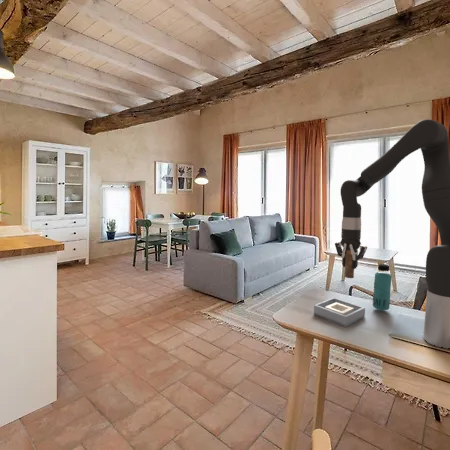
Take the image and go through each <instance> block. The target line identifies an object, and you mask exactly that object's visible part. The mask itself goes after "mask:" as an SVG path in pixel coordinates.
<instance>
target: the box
mask: <svg viewBox="0 0 450 450" xmlns="http://www.w3.org/2000/svg"><path fill="white" fill-rule="evenodd" d="M313 315H314V316H317V317H319V318H321V319H324V320H327V321H329V322H332V323H334V324H337V325H339V326H341V327H344V328H347V327H348V326H350V325H352V324H355V323H357V322H358V321H360V320H362V319H364V318H365V316H366V307H365V306H361V305H358V304H356V303H352V302H349V301H346V300H343V299H341V298H340V299H339V298H337V297H331V298H328V299H326V300H324V301H321V302H319V303H316V304H314V305H313Z"/></svg>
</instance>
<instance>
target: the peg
mask: <svg viewBox="0 0 450 450" xmlns="http://www.w3.org/2000/svg"><path fill="white" fill-rule="evenodd" d="M352 260H353V257H352V255H351V250H346V256H345V267H344V278H346V279H354V277H355V269H352Z"/></svg>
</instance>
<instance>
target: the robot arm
mask: <svg viewBox="0 0 450 450" xmlns="http://www.w3.org/2000/svg"><path fill="white" fill-rule="evenodd" d="M447 129H448V128H447V127H446V126H445V125H444V124H442V123H441V122H439V121H436V120H434V119H429V118H427V119H426V118H425V119H422V120H419V121H418V122H417V123H415V124H414V125H413V126H411V128H409V130H408V131H406V132H405V134H404V135H403V136H402V137H401V138H400V139H399V140H398V141H397V142H395V144H394V145H393V146H392V147H390V148H389V149H388V150H387V151H386V152H384V154H383V155H381V156H380V157H379V158H378V159H376V160H375V161H374V162H372V163H371V164H370V165H368V166H367V167H366V168H364V169H363V170H362V171H361V173H360V176H359V177H358V178H357V179H347V180H345V181H343V183H342V184H341V186H340V198H341V202H342V218H341V219H342V221H341V234H340V235H341V237H340V238H341V240H340V241H338V242H335V243H334V246H335V250H336V253H337V256H338V257H341V264H342V267H344V268H345V256H346V250H351V255H352V257H353V260H352V269H354V270H355V269H357V268H358V266H359V265H358V263H359V260H362V259H363V258H364V256H365V253H366V251H367V249H368V246H367V245H365V246H364V245H362V242H361V239H362V238H361V237H362V205H361V204H360V203H359V202H358V198H359V197H361V196H363V195H364V194H366V193H367V192H368V191H369V190H370V189H371V188H372V187H373V186H374V185H375V184H377V183H379V182H380V181H382V180H383V179H385V178H386V177H387V176H389V174H391V172H393V171H394V170H395V168H396V167H397V166H398V165H399V164H400V163H401V162H402V161H403V160H404V159H405V158H406V157H408V156H409V155H410V154H412V153H414V152H416V151H419V150H420V151H421V154H422V158H423V163H424V171H423V177H422V182H421V195H422V201H423V206H424V209H425V211H426V212H427V214H428V216H429V218H430V219H431V220H432V222H433V223H434V225H435V227H436V228H437V232H438V234H439V238H440V245H435V246H433V247H431V248H430V249H429V250H428V251H427V255H426V259H425V260H426V261H425V282H426V285H427V290H426V301H425V313H424V321H423V322H424V324H423V335H422V336H423V337H422V338H423V340H424V339H425V340H426V341H427V342H426V341H425V340H424V341H425V342H426V343H427V344H430V345H432V346H434V345H435V347H438V348H441V347H443V349H448V348H450V154H449V153H450V151H449V150H450V149H449V134H448V133H449V132H448V130H447ZM358 249H359V250H358Z"/></svg>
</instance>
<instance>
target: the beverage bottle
mask: <svg viewBox="0 0 450 450" xmlns="http://www.w3.org/2000/svg"><path fill="white" fill-rule="evenodd" d="M389 271H390V265H389V264H386V263H385V264H383V263H380V264H378V267H377V272H375V274H374V282H373V296H372V297H373V298H372V306H373V308H374V309H377V310H381V311H388V310H389V309H390V306H391V305H390V304H391V288H392V278H393V276H392V275H391V274H390V272H389Z"/></svg>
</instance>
